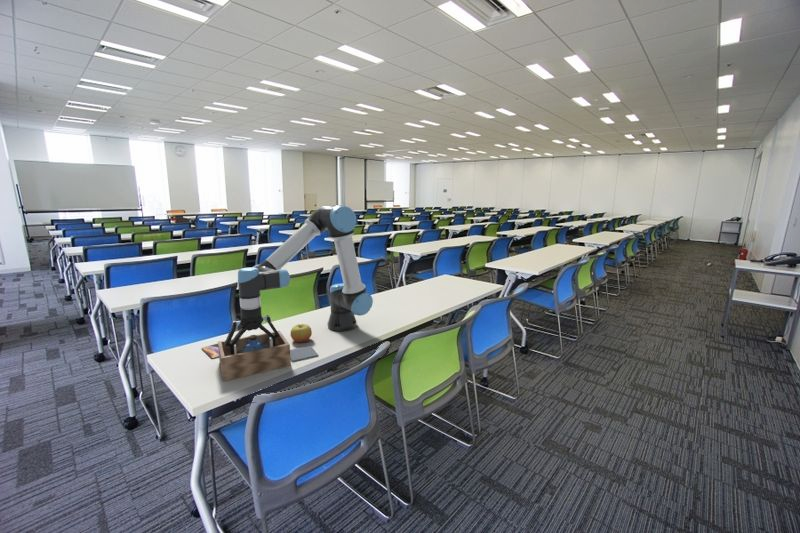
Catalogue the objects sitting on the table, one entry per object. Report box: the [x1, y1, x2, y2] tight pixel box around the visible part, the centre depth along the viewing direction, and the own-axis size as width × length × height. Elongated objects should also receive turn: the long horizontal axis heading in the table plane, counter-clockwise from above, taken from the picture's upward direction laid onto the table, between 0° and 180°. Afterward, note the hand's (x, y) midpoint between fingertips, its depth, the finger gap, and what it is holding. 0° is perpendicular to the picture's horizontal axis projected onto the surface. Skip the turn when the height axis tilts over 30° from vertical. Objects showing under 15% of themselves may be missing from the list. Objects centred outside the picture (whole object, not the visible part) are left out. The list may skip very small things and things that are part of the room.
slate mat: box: [290, 345, 319, 363], centre depth 148 cm, size 11×11×1 cm
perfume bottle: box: [242, 334, 265, 353], centre depth 138 cm, size 6×6×12 cm
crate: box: [217, 330, 292, 382], centre depth 138 cm, size 24×17×9 cm
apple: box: [290, 323, 313, 344], centre depth 162 cm, size 10×10×8 cm
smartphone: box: [201, 343, 219, 360], centre depth 150 cm, size 8×1×15 cm
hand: (254, 357), depth 139 cm, fingers open, 13 cm apart
